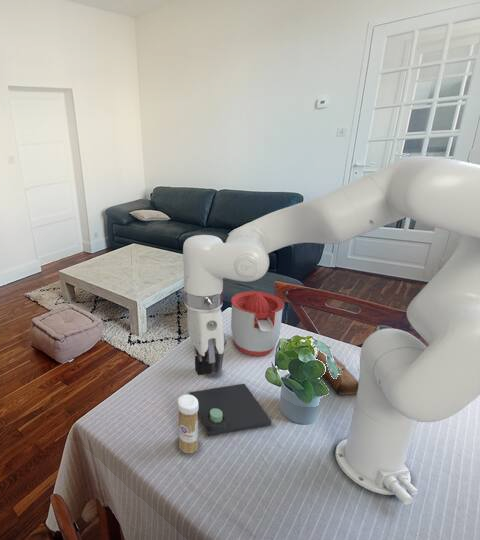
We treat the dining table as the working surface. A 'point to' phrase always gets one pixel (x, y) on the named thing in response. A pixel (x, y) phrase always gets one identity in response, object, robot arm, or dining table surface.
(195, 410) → the sprinkles bottle
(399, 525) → the dining table surface
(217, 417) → the tare button
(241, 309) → the citrus juicer
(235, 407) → the scale
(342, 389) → the brown leather shoe
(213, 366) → the beverage cup
